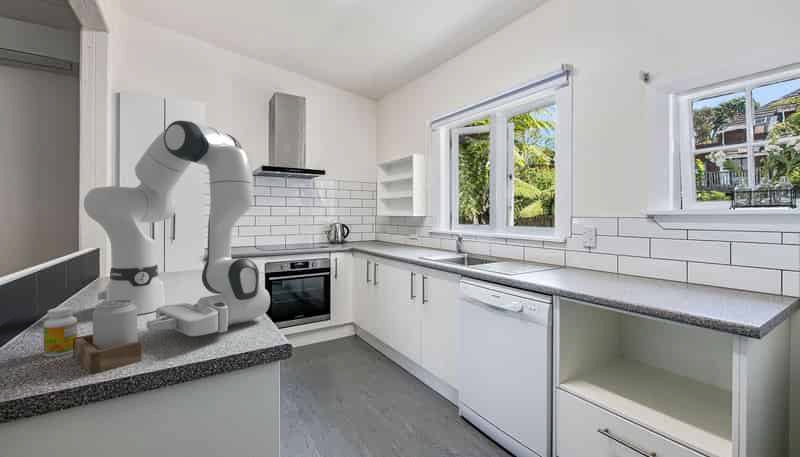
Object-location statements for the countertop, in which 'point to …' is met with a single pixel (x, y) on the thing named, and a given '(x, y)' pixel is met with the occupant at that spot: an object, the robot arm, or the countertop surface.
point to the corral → (104, 354)
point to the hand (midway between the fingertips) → (148, 326)
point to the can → (114, 323)
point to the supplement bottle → (59, 332)
